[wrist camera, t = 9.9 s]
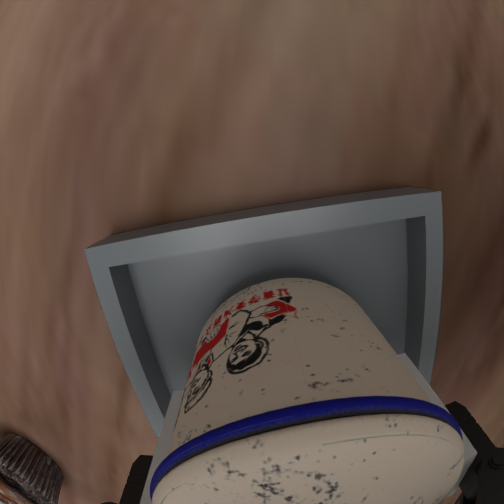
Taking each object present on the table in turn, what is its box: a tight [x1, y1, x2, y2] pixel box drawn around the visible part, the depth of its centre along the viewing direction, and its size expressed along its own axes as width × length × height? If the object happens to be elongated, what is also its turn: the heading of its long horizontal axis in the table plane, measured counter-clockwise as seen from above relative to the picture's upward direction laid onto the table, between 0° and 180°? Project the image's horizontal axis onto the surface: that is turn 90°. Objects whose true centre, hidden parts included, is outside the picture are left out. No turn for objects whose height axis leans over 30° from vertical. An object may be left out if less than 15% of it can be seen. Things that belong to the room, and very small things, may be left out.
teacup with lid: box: [150, 278, 465, 504], centre depth 9 cm, size 12×9×12 cm
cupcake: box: [0, 433, 63, 504], centre depth 16 cm, size 10×10×10 cm
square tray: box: [85, 187, 443, 439], centre depth 16 cm, size 16×16×3 cm
